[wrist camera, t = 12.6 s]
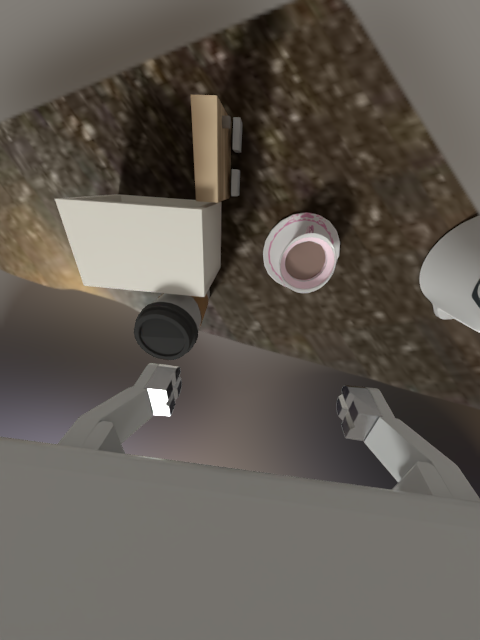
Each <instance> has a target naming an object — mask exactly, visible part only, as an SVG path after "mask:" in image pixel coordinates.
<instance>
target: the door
mask: <svg viewBox="0 0 480 640" xmlns="http://www.w3.org/2000/svg"><path fill="white" fill-rule="evenodd" d="M191 111H192V131H193V151H194V170H195V190H196V201H198V202H215V203H218V202H221V201H223V200H226V199H229V198H230V176H231V126H232V122H231V117H230V116H228V115H227V113H226V111H225V109H224V107H223V106H222V104H221V102H220V100H219V98H218V96H217V95H191Z"/></svg>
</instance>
